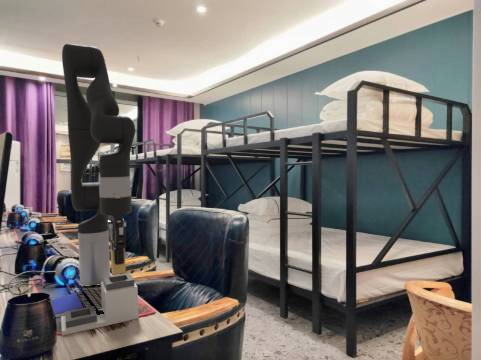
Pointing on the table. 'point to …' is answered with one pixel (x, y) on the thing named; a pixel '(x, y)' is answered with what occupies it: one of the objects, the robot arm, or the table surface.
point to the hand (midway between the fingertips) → (118, 262)
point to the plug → (115, 268)
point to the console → (106, 306)
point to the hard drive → (65, 304)
